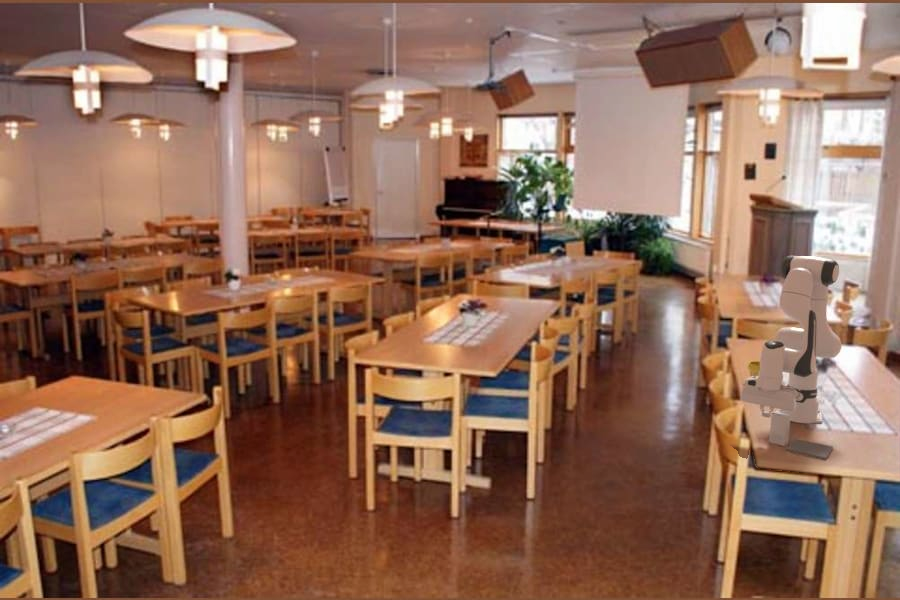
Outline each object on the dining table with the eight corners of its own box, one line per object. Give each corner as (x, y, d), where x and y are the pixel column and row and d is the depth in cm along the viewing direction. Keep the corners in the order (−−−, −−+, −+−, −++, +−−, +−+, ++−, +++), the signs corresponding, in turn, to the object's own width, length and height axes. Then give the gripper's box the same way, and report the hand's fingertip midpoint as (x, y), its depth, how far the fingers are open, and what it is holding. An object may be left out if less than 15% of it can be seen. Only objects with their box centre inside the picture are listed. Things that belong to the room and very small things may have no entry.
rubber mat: (794, 440, 309) (794, 438, 309) (832, 449, 301) (833, 446, 301) (786, 451, 298) (786, 448, 298) (826, 460, 290) (826, 457, 290)
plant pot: (755, 378, 394) (757, 359, 392) (773, 383, 385) (775, 364, 383) (742, 381, 389) (744, 362, 387) (759, 386, 380) (761, 367, 378)
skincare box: (788, 444, 305) (791, 414, 303) (783, 446, 302) (787, 417, 300) (772, 439, 309) (775, 410, 307) (768, 442, 306) (771, 413, 304)
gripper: (800, 386, 301) (795, 420, 304) (745, 376, 313) (742, 409, 315) (796, 390, 296) (792, 424, 299) (741, 379, 308) (737, 413, 310)
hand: (766, 416), depth 307 cm, fingers closed
